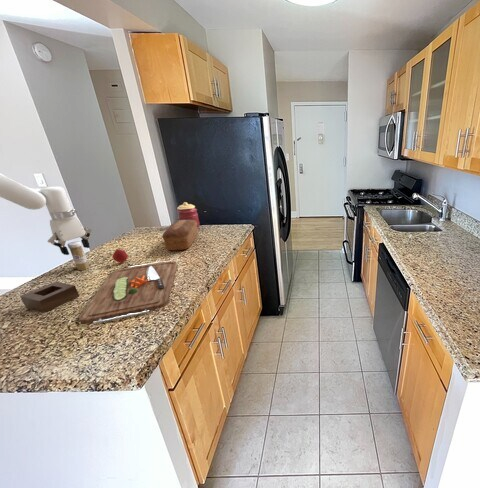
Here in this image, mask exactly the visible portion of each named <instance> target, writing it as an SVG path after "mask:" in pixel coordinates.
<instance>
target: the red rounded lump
mask: <svg viewBox="0 0 480 488" xmlns="http://www.w3.org/2000/svg"><path fill="white" fill-rule="evenodd" d="M128 255H129V254H128V253H127V252H126V251H125V250H124V249H121V248H115V251H114V252H113V254H112V259H113V261H115V262H117V263H120V264H123V263H125V262H126V261H127V259H128V257H129V256H128Z"/></svg>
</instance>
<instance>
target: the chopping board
mask: <svg viewBox="0 0 480 488" xmlns="http://www.w3.org/2000/svg"><path fill="white" fill-rule="evenodd" d="M177 269H178V263H177V261H173V260H171V261H167V260H163V261H156V262H149V263H143V264H136V265H130V266H129V265H128V267H125V268H119V269H116V270H114V271H111V273H110V274H109V275H108V276H107V278H106V280H104V282H103V283H102V285H101V286H100V287H99V289H98V290H97V292H96V293H95V294H94V296H93V297H92V298H91V299H90V301H89V303H88V304H87V305H86V307H85V308H84V309H83V311H82V312H81V313H80V314H79V316H78V320H79V322H80V323H82V324H89V323H92V324H93V325H96V324H101V323H106V322H111V321H115V320H119V319H125V318H130V317H134V316H135V317H136V316H139V315H144V314H148V313H150V311H152V310H157V309H160V308H163V307H165V306H166V305H167V304H168V303H169V300H170V295H171V292H172V288H173V284H174V280H175V276H176V273H177Z"/></svg>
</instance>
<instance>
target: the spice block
mask: <svg viewBox="0 0 480 488" xmlns="http://www.w3.org/2000/svg"><path fill="white" fill-rule="evenodd" d="M19 297H20V299H21V301H22V303H23V305H24V307H25V308H27V309H31V310H33V311H38V312H41V313H47V312H50V311H52V310H55V309H57V308H58V307H60V306H62V305H64V304H67V303H69V302H70V301H73V300H75V299H77V298H79V297H80V294H79V291H78V289H77V286H76V285H74V284H71V283H70V284H69V283H65V282H61V281H54V282H51V283H49V284H46V285H44V286H42V287H39V288H36V289H34V290H32V291H29V292H27V293H24V294H22V295H19Z"/></svg>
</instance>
